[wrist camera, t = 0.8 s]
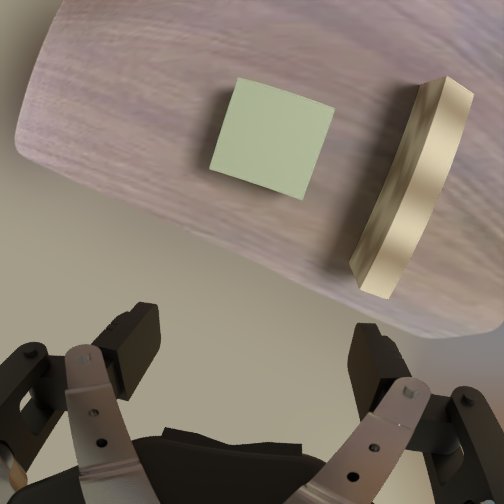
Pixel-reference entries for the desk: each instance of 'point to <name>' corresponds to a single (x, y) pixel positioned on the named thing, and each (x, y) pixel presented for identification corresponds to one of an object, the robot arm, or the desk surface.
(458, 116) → the stop board
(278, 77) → the desk surface
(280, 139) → the sage block
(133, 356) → the robot arm
